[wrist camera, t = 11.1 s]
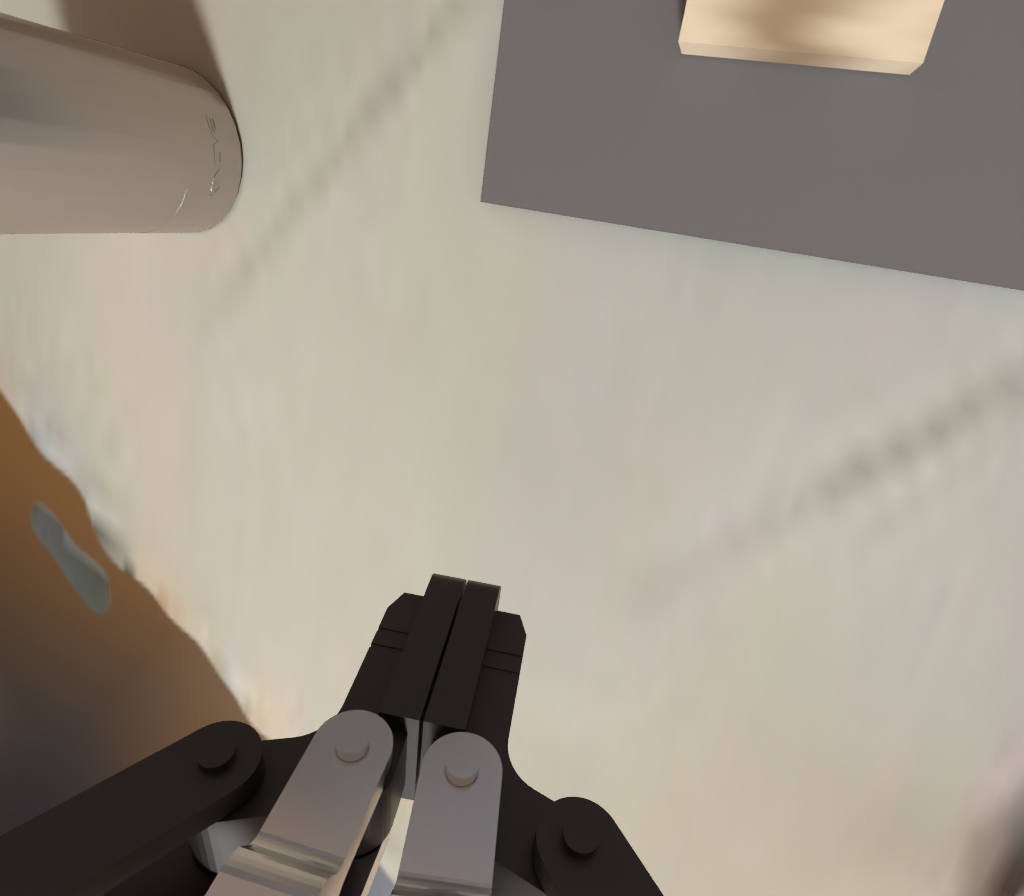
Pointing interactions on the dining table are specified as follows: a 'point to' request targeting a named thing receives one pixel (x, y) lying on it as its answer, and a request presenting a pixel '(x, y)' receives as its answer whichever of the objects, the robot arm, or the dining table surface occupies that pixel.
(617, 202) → the rubber mat
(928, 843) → the dining table surface
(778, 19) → the birch tile
